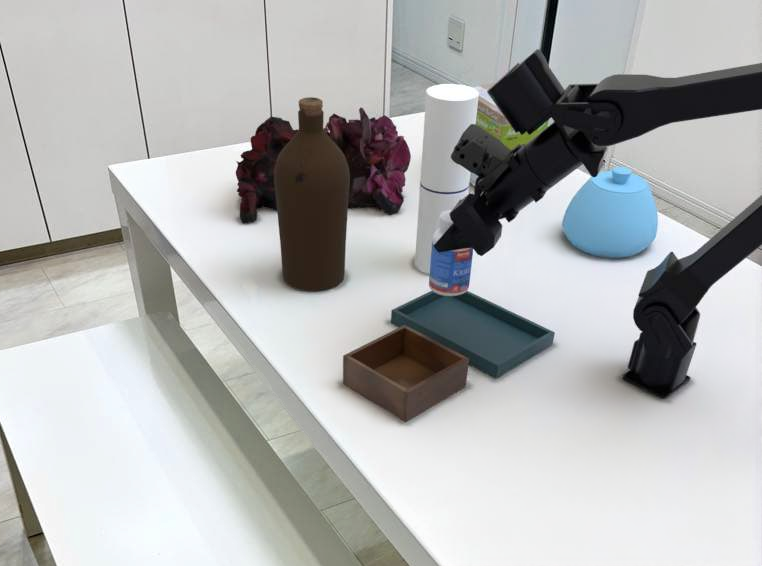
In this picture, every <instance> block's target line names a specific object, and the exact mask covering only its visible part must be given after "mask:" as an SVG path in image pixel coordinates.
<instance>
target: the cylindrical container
mask: <svg viewBox="0 0 762 566" xmlns="http://www.w3.org/2000/svg"><path fill="white" fill-rule="evenodd" d="M472 87H473V86H469V85H465V84H460V83H459V84H458V83H440V84H435V85H432V86H430V87H428V88H427V89H426V90H425V107H424V119H423V120H424V121H423V136H422V137H423V138H422V150H421V165H420V178H419V181H420V183H419V193H418V195H419V196H418V211H417V224H416V240H415V254H414V267H415V268H416V269H417V270H418V271H419V272H421V273H423V274H427V275H430V262H431V250H432V238H433V234H434V232H435V231H436V230H438V229H439V228H440V227H439V220H440V214H441V213H442V212H444V211H448V210H453V208H454V207H455V206H456V204H457V203H458V202H459V201H460V199H461V200H462V199H463V198H465V197H466V196H467V195H468V194H469V189H470V182H469V181H470V171H468V170H467V169H465V168H464V167H462V166H461V165H458V164H456V163H455V162H454V161H453V160H452V159H451V154H452V152H453V151H454V148H455V146H456V145H457V143H458V141H459V140H460V138H461V136H462V134H463V132H464V131H465V130H466V129H467V128H468V127H469V126H470V125H471V124H475V125H476V116H477V106H478V97H479V92H478V91H477V90H476V89H474V88H472Z"/></svg>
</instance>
